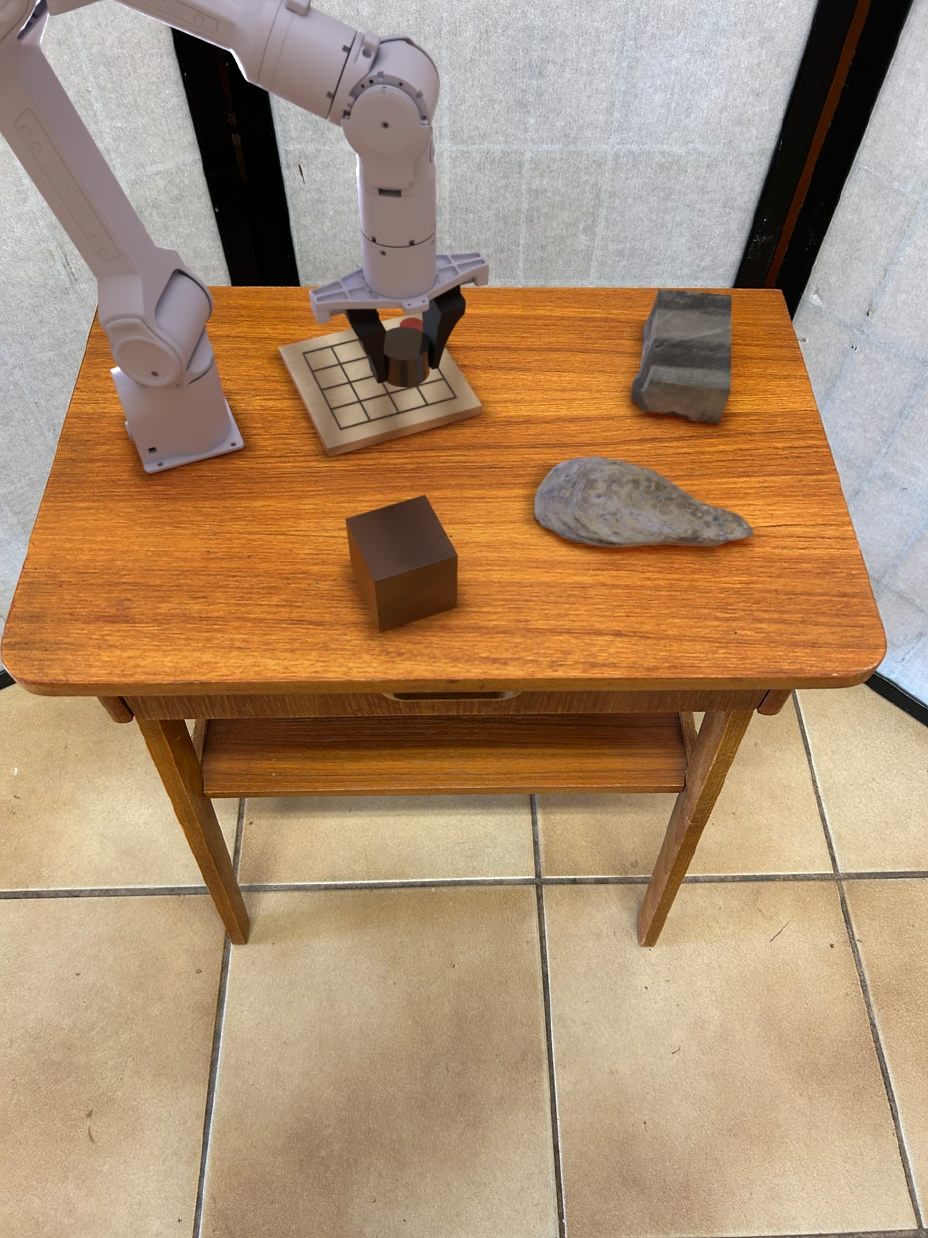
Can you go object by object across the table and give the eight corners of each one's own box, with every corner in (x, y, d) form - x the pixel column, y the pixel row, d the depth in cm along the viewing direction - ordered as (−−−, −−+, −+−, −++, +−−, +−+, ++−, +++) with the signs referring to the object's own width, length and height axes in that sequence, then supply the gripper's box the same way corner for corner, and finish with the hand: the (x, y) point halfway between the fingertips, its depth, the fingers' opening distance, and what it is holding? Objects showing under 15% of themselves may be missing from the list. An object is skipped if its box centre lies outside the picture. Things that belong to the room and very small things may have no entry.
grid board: (328, 457, 91) (327, 447, 90) (280, 355, 99) (278, 345, 98) (481, 414, 95) (482, 404, 94) (422, 320, 103) (422, 309, 102)
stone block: (629, 416, 95) (637, 375, 91) (637, 326, 103) (645, 284, 99) (719, 427, 94) (732, 386, 90) (721, 335, 102) (732, 293, 98)
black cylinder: (389, 392, 81) (388, 364, 79) (372, 361, 84) (370, 333, 81) (437, 380, 82) (437, 352, 80) (419, 349, 85) (418, 321, 82)
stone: (740, 587, 85) (741, 501, 91) (754, 564, 82) (755, 476, 87) (526, 546, 85) (540, 462, 91) (533, 522, 82) (546, 436, 88)
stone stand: (379, 633, 79) (374, 581, 73) (352, 571, 83) (345, 518, 77) (457, 607, 81) (458, 554, 75) (426, 548, 85) (425, 494, 79)
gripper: (322, 276, 68) (339, 419, 79) (507, 234, 71) (499, 377, 82) (293, 223, 72) (313, 367, 83) (471, 185, 75) (467, 328, 86)
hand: (404, 368), depth 83 cm, fingers closed on black cylinder, 4 cm apart
